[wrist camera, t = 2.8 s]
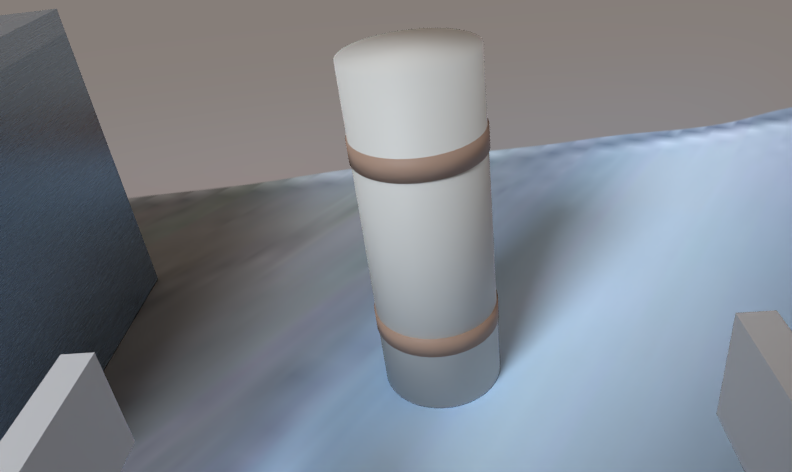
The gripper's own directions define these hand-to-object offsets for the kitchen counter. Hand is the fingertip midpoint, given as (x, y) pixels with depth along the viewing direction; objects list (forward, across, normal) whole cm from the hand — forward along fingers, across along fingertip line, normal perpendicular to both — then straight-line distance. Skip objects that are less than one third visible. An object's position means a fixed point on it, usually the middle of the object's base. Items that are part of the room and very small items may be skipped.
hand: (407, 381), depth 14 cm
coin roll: (+10, 0, -9) cm, 13 cm away
